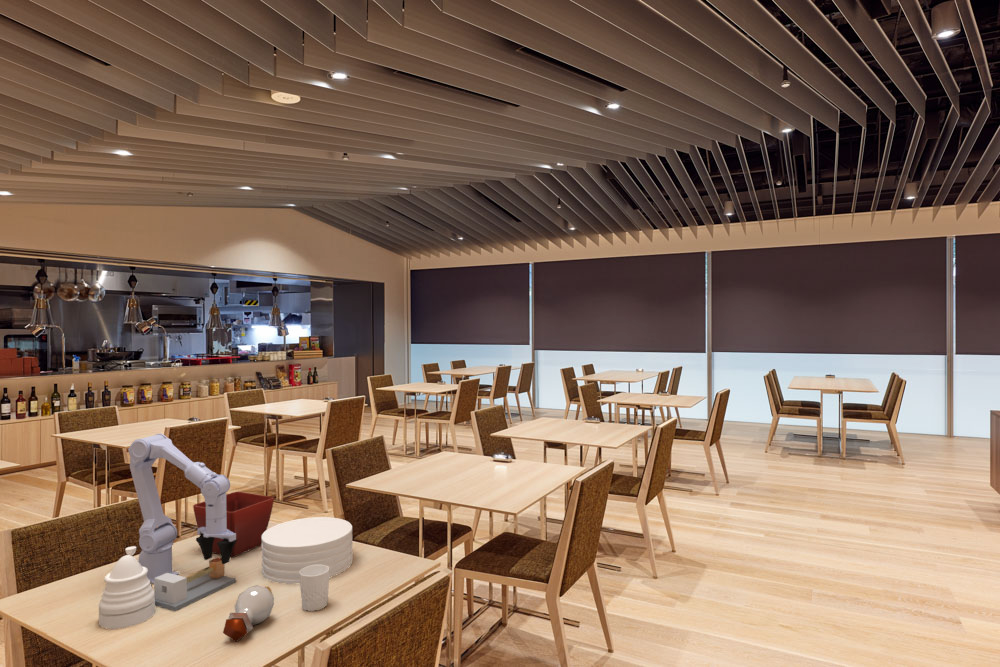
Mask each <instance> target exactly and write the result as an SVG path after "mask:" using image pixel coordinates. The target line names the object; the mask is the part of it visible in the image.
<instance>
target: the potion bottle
mask: <svg viewBox="0 0 1000 667" xmlns="http://www.w3.org/2000/svg"><path fill="white" fill-rule="evenodd" d="M271 592H272V591H271ZM271 592H270V591H269V590H268V589H267V588H265V586H262V585H258V584H257V585H253V586H250V587H247V588H246V589H244V591H242V592H240V593H239V595H238V596H237V600H236V601H235V603H234V604H235V605H234V612H229V616H228V619H227V618H226V619H225V623H224V628H223V631H222V634H224V635H225V636H227V637H228V638H230V639H231V640H233V641H234V642H238V641H239V640H241V639H243V637H245V636H247V635H248V633H249V632H250V631H252V630H253V629H254V627H253V626H254V625H258V624H261V623H262V622H264V621H265V620H266V619H267V618H269V617H270V616H271V614H272V610H273V608H274V604H275V603H274V600H273V598H274V594H273V593H272V594H273V595H272V594H271Z"/></svg>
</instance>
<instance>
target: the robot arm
mask: <svg viewBox="0 0 1000 667" xmlns="http://www.w3.org/2000/svg"><path fill="white" fill-rule="evenodd" d="M128 454H129V458H130V459H129V470H130V472H131V477H132V480H133V484H134V488H135V492H136V496H137V499H138V503H139V507H140V511H141V515H142V520H143V523H142V524H141V526H140V528H139V529H138V532H139V533H138V534H139V539H138V542H139V543H138V545H139V547H140V548H141V549H140V550H141V551H140V552H139V555H138V560H137V561H138V562H139V563H140V565H141V566H143V567H146V568H147V569H148V572H147V574H146V576H147V578H148V579H149V580H150V584H154V578H156V577H158V576H161V575H163V574H165V573H170V574H174V575H178V576H179V575H180V573H179V572H177V571H173V545H174V541H176V539H177V537H178V529H177V527H176V526H175V525H174V523H173V522H172V521H173V520H172V518H171V517H169V516H167V515H166V514H164V510H163V506H162V502H161V499H160V495H159V491H158V488H157V487H158V486H157V483H156V480H155V477H154V476H155V475H154V473H153V468H152V467H153V465H154V464H155V462H156V460H157V459H165V460H166V461H168V462H169V463H171V464H172V465H174V466H176V467H177V468H179V469H180V470H182V471H183V472H184V478H186V479H187V480H188V481H189V482H191V483H192V484H194V485H195V486H197V488H199V489H200V494H201V495H202V496H203V498H204V501H205V502H206V527H201V528H198V527H197V529H196V531H197V537H196V538H195V542H197V544H198V546H199V547H200V550H201V553H202V556H203V560H204V561H207V560H211V559H212V557H213V553H212V550H213V542H214V538H215V537H216V538H221V539H223V541H220V542H218V543H217V544H218V546H219V549H220V553H221V554H220V558H221V562H222V564H224V565H225V564H228V563H229V562H230V561H231V560H230V559H231V557H230V556H231V552H232V550H233V547H234V545H235V543H236V542H237V538H236V533H233V532H231V531H230V530H228V529H227V516H226V515H227V514H226V495H227V492H229V491H230V488H231V482H230V480H229V478H228V477H227V476H226V475H224V474H217V473H216V472H214V471H212V470H211V469H210V468H209V467H207V466H206V464H205V463H204V462H200V461H196V462H194V461H193V460H191V459H190V458H188V456H186V454H185V453H183V452H182V451H181V450H180V449H178V448H177V447H176V445H174V444H173V441H172V439H170V438H168V437H167V436H166V435H165V434H163V433H157V434H154V435H150V436H146V437H142V438H137V439H134V440H133V441H132V442H131V443H130V446H129V447H128Z"/></svg>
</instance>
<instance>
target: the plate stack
mask: <svg viewBox="0 0 1000 667" xmlns="http://www.w3.org/2000/svg"><path fill="white" fill-rule="evenodd" d="M353 551H354V550H353V525H352V524H351V522H349V521H348V520H345V519H342V518H337V517H329V516H327V517H326V516H317V517H316V516H315V517H314V516H313V517H305V518H297V519H293V520H287V521H284V522H281V523H277V524H276V525H273V526H271V527H269V528H267V530H266V531H265V532H264V533H263V534H262V543H261V574H262V577H263V578H264V579H266V580H268V581H270V580H271V582H272V583H276V582H278V583H277V584H283V583H286V585H294V584H293V583H300V570H301V569H303V568H305V567H307V566H311V565H326V566H328V567H329V577H331V576H334V575H336V574H339V573H341V572H343V571H344V570H346V569H347V568H348V567H349V566H350V565H351V564H353V562H354V561H353ZM352 561H353V562H352ZM351 566H352V565H351ZM351 566H350V567H351ZM350 567H349V568H350ZM349 568H348V569H349ZM348 569H347V570H348ZM347 570H346V571H347ZM344 572H345V571H344ZM344 572H343V573H344ZM341 574H342V573H341ZM339 575H340V574H339ZM336 576H337V575H336ZM334 577H335V576H334ZM331 578H332V577H331Z"/></svg>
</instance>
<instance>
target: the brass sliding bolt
mask: <svg viewBox="0 0 1000 667" xmlns="http://www.w3.org/2000/svg"><path fill="white" fill-rule="evenodd" d="M225 568H226V567H225V564H222V562H221V557H215V558H213V559H209V562H208V566H206V567H205V568H202V569H201V570H198V571H195V572H193V573H191V574H189V575H186V576H185V577H186V578H187V583H188V582H191V581H193V580H195V579H197V578H200V577H202V576H204V575H206V574H209V577H210V578H214V579H217V578H220V577H222V576H226V574H225V572H226V571H225Z"/></svg>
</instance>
